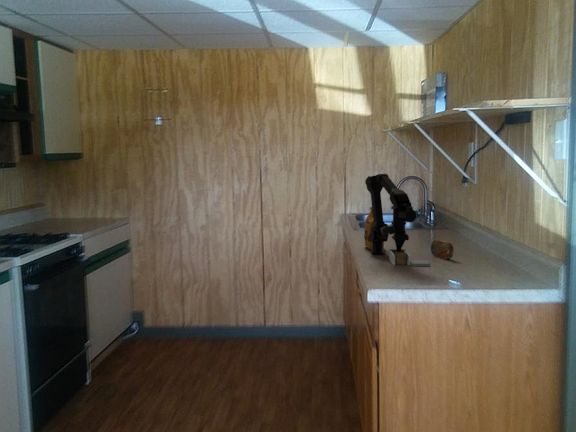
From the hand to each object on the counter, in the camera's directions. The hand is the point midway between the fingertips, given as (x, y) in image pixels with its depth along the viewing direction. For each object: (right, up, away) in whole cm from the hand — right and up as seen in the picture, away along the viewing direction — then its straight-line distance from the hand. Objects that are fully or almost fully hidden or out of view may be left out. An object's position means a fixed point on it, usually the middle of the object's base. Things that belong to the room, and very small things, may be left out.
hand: (398, 252), depth 262 cm
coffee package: (-6, 0, +33) cm, 34 cm away
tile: (+8, -5, -7) cm, 12 cm away
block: (0, -5, -5) cm, 7 cm away
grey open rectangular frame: (0, -5, -3) cm, 5 cm away
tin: (+23, -3, +8) cm, 24 cm away
